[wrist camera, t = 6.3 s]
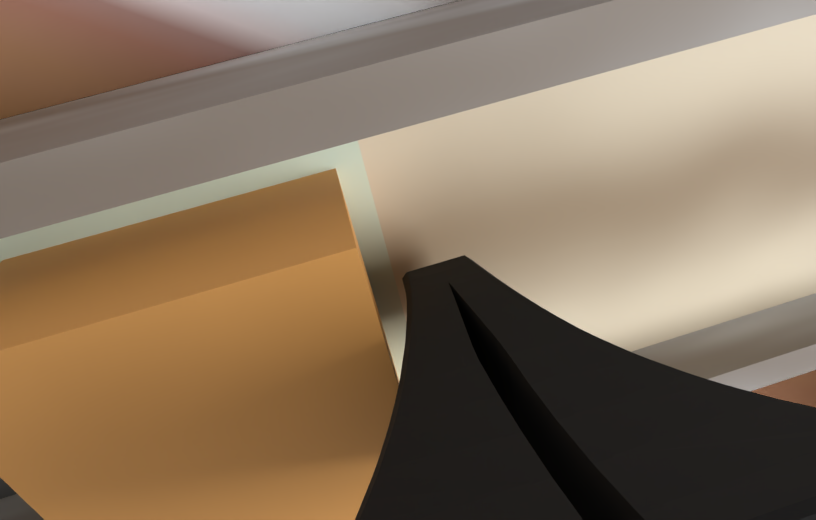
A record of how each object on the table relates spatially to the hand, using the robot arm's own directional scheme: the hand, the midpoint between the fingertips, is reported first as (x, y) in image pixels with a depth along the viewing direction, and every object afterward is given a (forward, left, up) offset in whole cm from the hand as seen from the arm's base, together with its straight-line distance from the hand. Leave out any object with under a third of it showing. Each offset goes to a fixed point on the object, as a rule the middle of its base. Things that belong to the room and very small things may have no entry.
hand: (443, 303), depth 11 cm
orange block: (0, +4, -1) cm, 4 cm away
